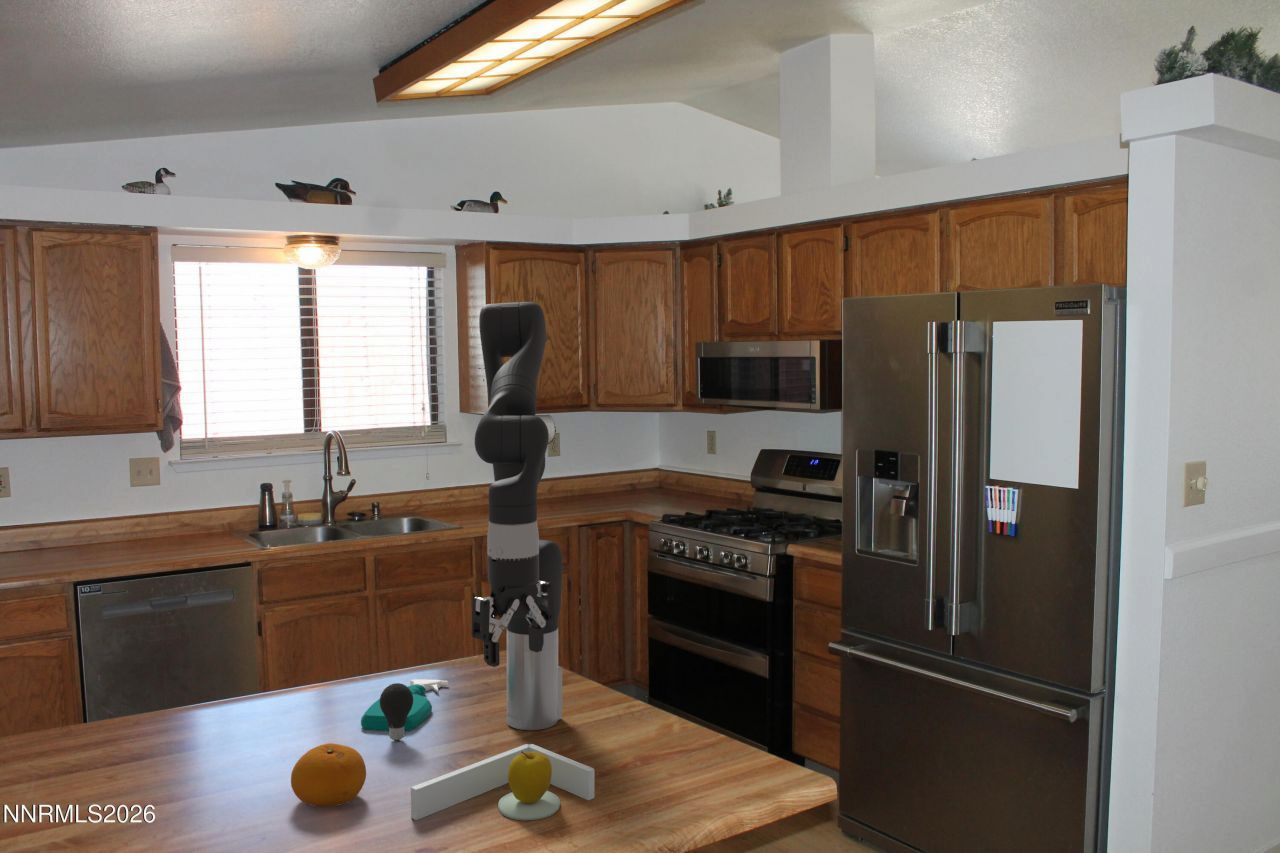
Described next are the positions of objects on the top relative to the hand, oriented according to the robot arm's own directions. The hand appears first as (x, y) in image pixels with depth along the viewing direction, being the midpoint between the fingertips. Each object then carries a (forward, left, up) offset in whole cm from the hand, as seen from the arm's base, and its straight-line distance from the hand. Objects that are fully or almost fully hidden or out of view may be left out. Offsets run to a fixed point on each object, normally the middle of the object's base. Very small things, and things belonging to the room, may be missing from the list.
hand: (514, 658), depth 151 cm
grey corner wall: (+3, +1, -21) cm, 22 cm away
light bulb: (-1, -31, -22) cm, 38 cm away
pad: (0, +4, -22) cm, 22 cm away
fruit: (+19, -19, -22) cm, 35 cm away
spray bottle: (-12, -44, -22) cm, 50 cm away
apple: (0, +4, -21) cm, 21 cm away
